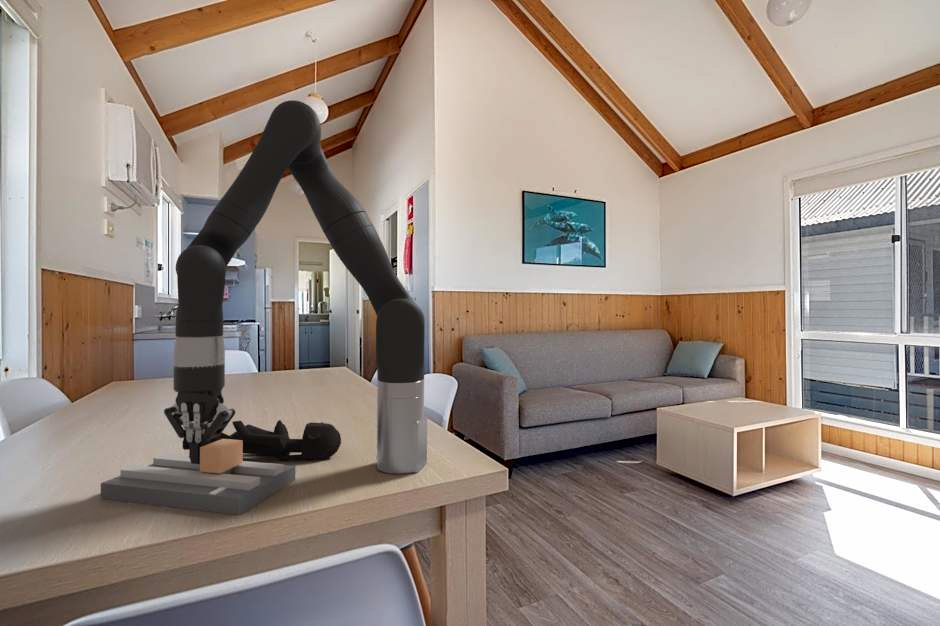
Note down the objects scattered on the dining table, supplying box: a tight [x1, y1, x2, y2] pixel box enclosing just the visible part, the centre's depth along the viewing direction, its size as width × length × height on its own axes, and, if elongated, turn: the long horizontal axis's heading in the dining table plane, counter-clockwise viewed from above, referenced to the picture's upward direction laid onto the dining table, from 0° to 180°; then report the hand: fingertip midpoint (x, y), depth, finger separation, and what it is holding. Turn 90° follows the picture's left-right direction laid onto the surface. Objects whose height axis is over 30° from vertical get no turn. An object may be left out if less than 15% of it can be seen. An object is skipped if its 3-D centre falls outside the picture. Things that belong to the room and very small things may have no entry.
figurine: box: [182, 419, 342, 462], centre depth 90 cm, size 8×30×8 cm, turn 92°
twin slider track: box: [100, 453, 296, 516], centre depth 74 cm, size 26×14×4 cm, turn 78°
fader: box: [200, 439, 244, 474], centre depth 74 cm, size 4×5×5 cm
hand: (199, 462), depth 75 cm, fingers closed
